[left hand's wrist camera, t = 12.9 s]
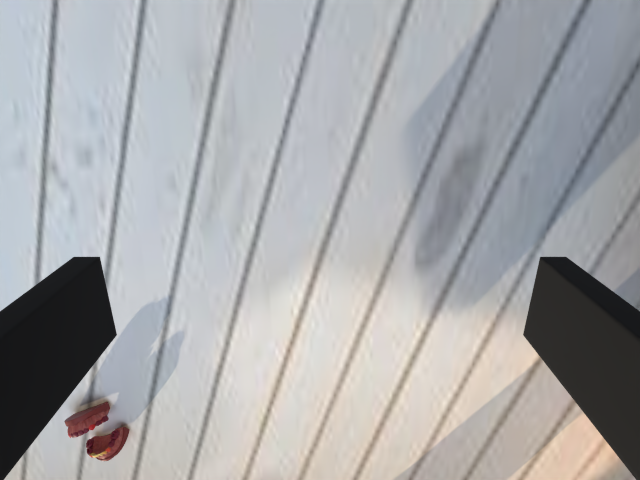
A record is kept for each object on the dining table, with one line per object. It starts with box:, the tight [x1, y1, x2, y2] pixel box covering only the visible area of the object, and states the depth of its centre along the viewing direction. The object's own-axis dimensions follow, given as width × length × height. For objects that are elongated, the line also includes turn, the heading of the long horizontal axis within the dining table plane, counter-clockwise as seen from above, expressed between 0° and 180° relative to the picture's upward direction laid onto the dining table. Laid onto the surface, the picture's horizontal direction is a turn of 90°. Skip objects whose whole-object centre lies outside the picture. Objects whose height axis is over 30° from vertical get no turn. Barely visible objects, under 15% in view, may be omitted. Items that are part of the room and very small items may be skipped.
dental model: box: [65, 402, 129, 461], centre depth 56 cm, size 6×4×8 cm
